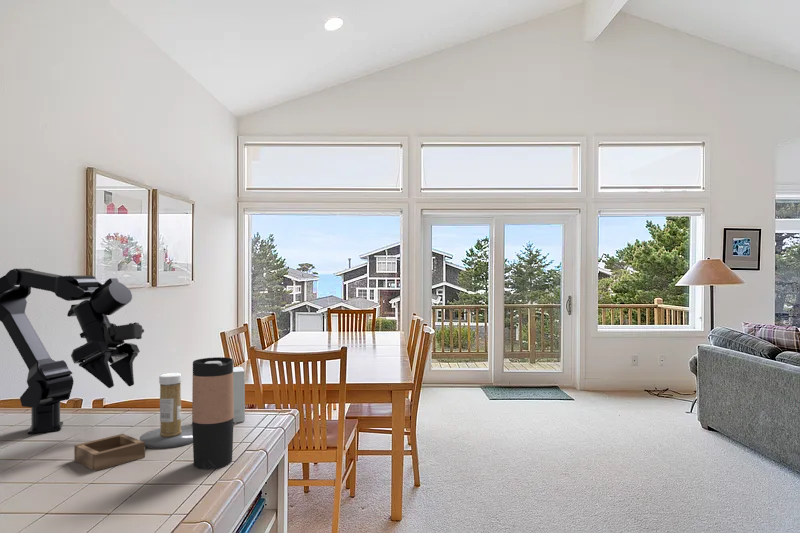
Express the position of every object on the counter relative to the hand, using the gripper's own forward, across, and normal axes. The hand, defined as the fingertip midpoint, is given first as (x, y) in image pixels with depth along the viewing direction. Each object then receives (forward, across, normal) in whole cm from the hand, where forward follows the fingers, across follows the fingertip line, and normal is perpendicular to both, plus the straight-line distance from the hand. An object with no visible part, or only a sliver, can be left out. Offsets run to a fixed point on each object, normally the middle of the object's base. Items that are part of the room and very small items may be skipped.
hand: (122, 386), depth 120 cm
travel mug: (+25, -14, -16) cm, 33 cm away
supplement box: (+17, +16, -13) cm, 27 cm away
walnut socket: (+14, -11, +3) cm, 18 cm away
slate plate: (+16, +1, -5) cm, 16 cm away
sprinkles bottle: (+15, +1, -5) cm, 16 cm away
